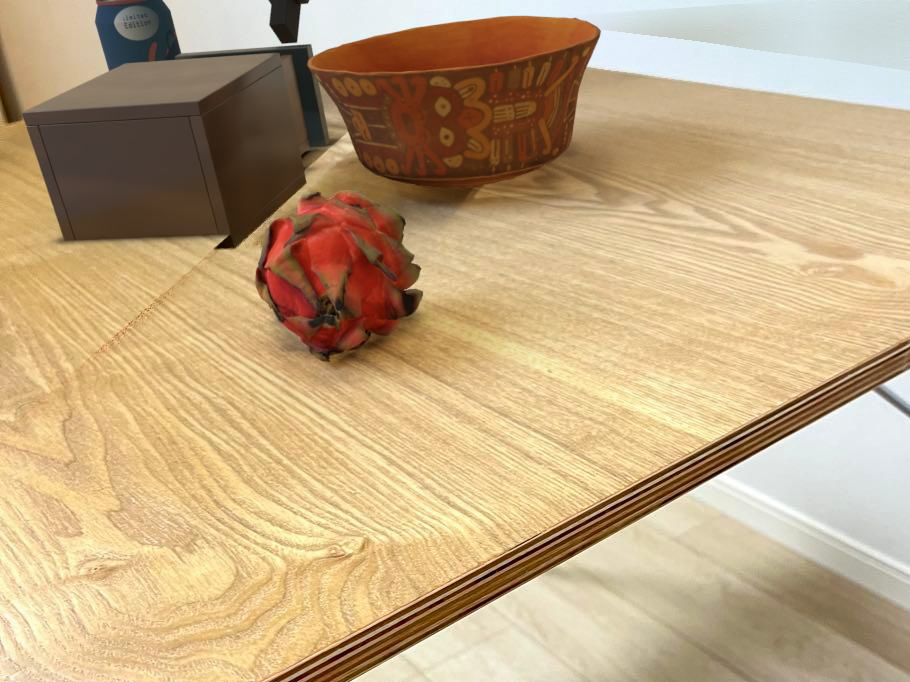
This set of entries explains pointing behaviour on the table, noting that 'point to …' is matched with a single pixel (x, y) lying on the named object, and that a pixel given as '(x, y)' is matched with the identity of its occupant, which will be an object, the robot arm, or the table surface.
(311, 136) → the drawer
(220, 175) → the cabinet
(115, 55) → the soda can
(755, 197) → the table surface
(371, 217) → the dragon fruit
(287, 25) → the robot arm
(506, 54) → the bowl
